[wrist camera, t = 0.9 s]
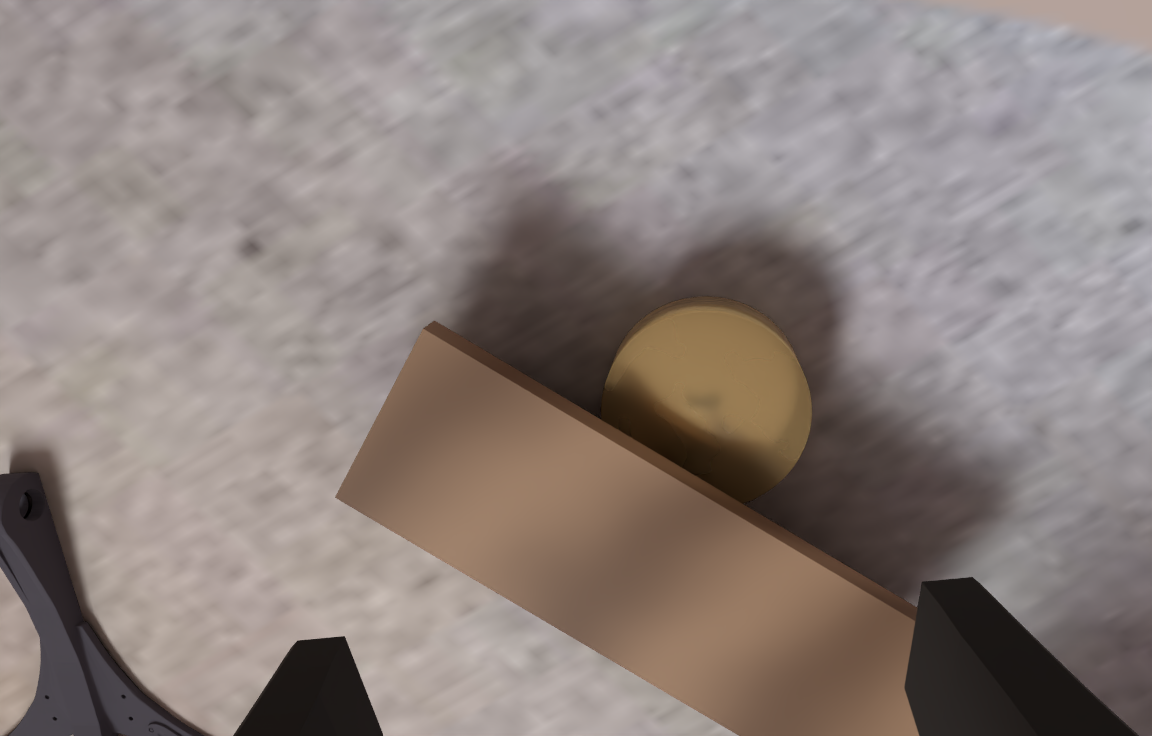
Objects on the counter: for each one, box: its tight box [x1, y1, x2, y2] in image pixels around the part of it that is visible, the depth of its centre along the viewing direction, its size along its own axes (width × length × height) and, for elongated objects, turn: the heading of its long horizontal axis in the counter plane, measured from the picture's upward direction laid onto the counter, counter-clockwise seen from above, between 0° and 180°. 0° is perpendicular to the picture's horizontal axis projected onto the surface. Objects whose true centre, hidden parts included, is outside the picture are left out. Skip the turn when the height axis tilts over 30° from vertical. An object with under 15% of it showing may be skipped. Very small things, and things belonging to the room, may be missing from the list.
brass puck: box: [601, 296, 812, 504], centre depth 25 cm, size 6×6×2 cm
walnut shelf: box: [335, 321, 919, 736], centre depth 25 cm, size 18×6×4 cm, turn 60°
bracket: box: [0, 472, 204, 736], centre depth 32 cm, size 14×15×3 cm
